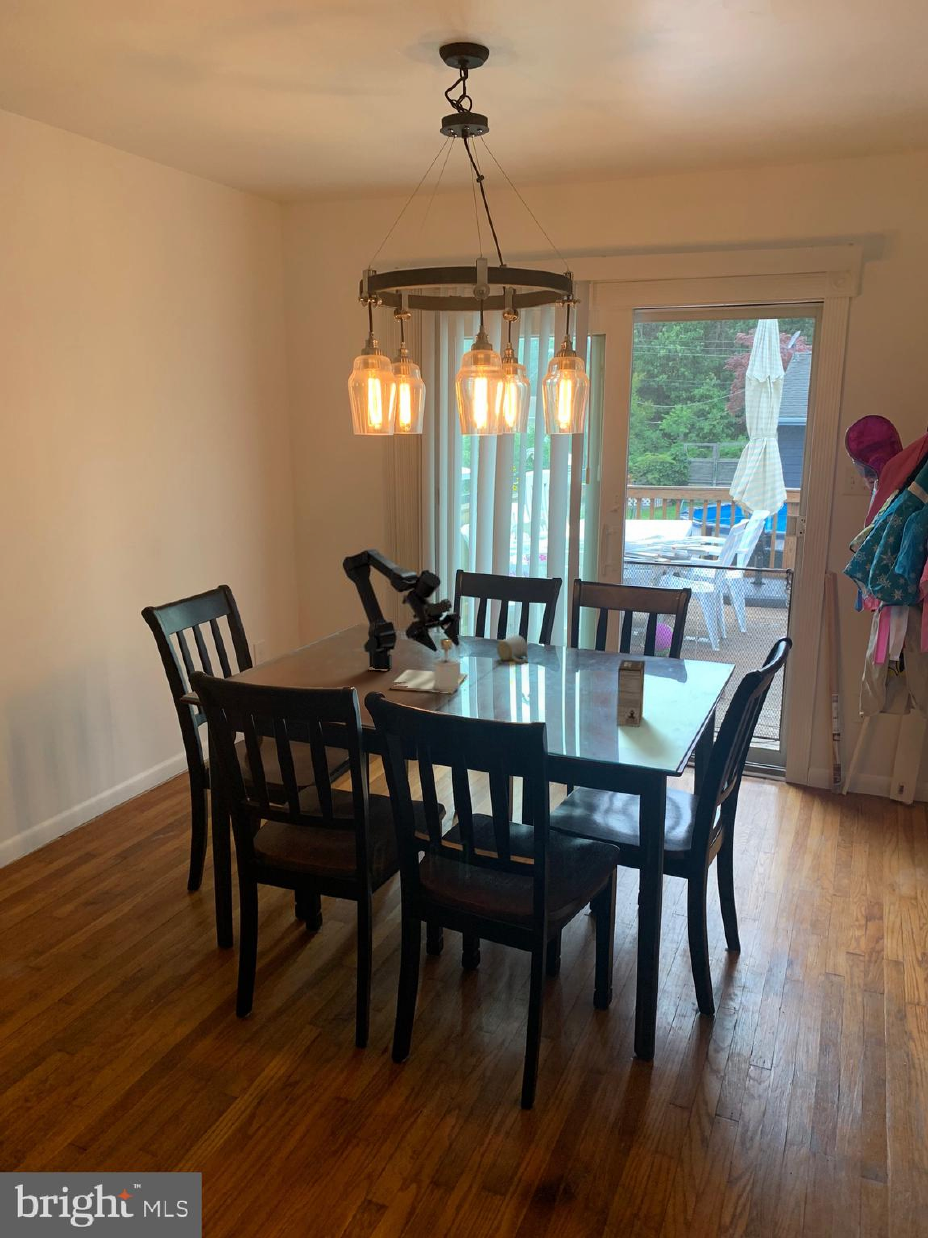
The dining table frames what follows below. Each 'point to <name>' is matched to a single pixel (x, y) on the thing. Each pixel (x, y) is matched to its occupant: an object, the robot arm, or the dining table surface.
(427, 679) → the birch board
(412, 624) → the robot arm
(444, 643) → the plunger
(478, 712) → the dining table surface
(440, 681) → the white faceted container
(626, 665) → the coffee box
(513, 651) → the ceramic mug
